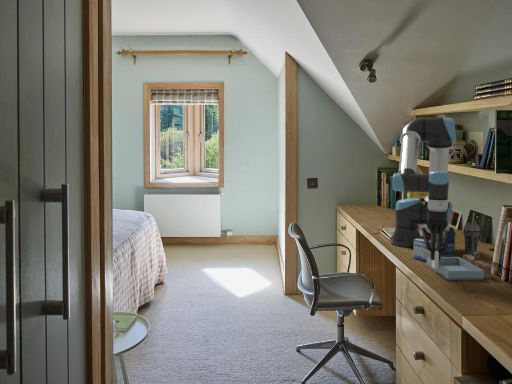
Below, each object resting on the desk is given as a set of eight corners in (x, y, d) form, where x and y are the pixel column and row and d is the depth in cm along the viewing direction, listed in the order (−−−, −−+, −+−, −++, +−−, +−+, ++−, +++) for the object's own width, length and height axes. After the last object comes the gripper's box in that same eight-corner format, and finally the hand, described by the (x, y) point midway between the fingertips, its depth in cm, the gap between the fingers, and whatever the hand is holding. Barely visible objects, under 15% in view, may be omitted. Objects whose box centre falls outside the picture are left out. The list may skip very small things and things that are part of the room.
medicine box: (412, 258, 225) (413, 239, 224) (417, 256, 229) (418, 238, 228) (429, 261, 220) (429, 242, 219) (433, 259, 223) (434, 240, 222)
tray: (426, 265, 213) (426, 257, 213) (458, 265, 214) (459, 257, 213) (447, 280, 191) (448, 271, 191) (483, 279, 192) (484, 270, 191)
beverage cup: (459, 254, 233) (461, 212, 230) (466, 252, 237) (468, 210, 235) (474, 257, 227) (476, 214, 225) (482, 255, 232) (484, 212, 229)
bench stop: (462, 266, 212) (463, 247, 211) (469, 266, 212) (470, 247, 211) (483, 278, 194) (484, 258, 193) (490, 278, 194) (491, 257, 193)
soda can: (446, 256, 228) (447, 231, 227) (435, 253, 234) (436, 228, 233) (457, 255, 231) (458, 229, 230) (446, 252, 237) (447, 227, 236)
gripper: (424, 211, 195) (422, 270, 198) (457, 211, 196) (454, 270, 198) (418, 208, 203) (415, 265, 205) (449, 208, 203) (446, 265, 206)
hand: (434, 267), depth 202 cm, fingers closed
